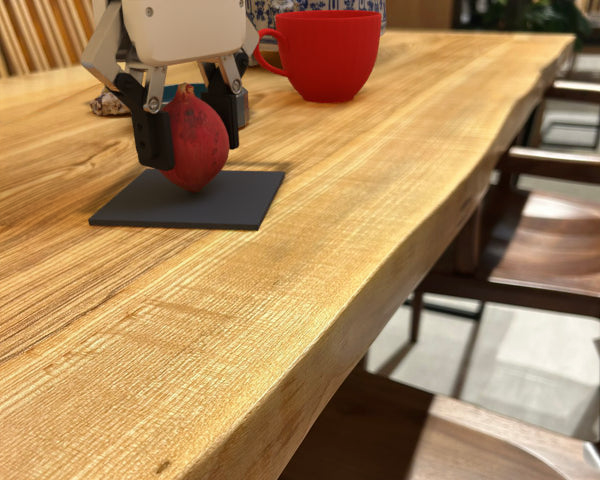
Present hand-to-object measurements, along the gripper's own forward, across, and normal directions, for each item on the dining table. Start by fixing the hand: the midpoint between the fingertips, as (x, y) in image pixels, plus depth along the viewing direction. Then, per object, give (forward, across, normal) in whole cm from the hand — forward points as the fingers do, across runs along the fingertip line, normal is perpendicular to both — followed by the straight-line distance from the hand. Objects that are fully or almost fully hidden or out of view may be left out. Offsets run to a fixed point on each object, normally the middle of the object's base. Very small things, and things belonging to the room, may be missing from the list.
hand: (190, 154), depth 47 cm
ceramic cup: (+4, -35, -15) cm, 38 cm away
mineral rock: (+4, -19, -32) cm, 37 cm away
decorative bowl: (+4, -66, -38) cm, 76 cm away
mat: (+3, 0, 0) cm, 3 cm away
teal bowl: (+4, -17, -18) cm, 25 cm away
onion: (+3, 0, 0) cm, 3 cm away
